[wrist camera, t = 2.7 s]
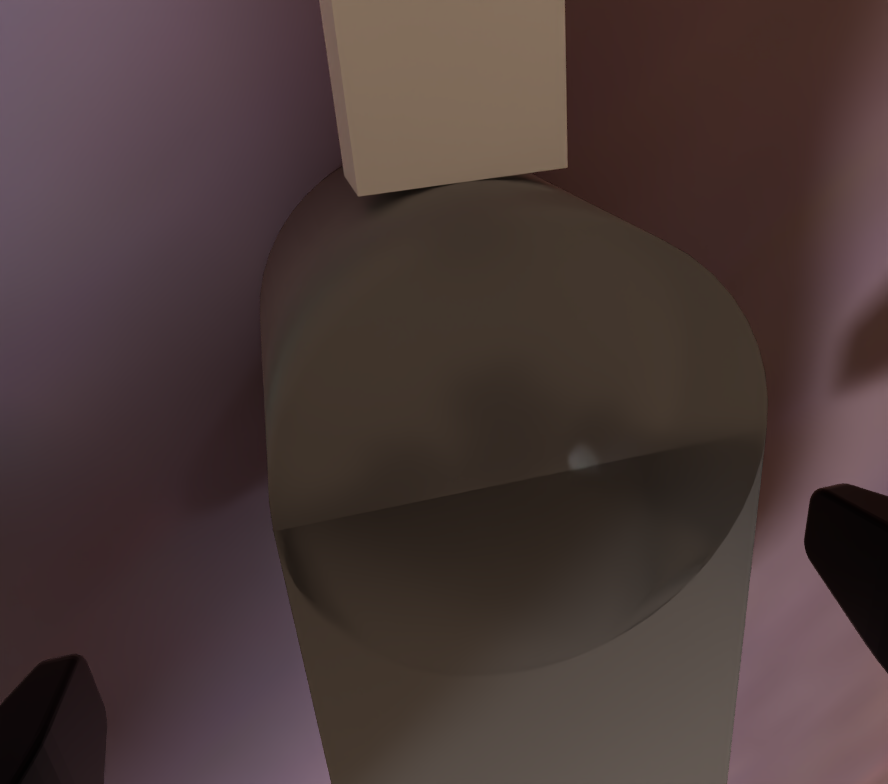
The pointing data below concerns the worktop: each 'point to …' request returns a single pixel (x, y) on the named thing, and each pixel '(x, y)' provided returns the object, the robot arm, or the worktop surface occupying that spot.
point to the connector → (501, 431)
